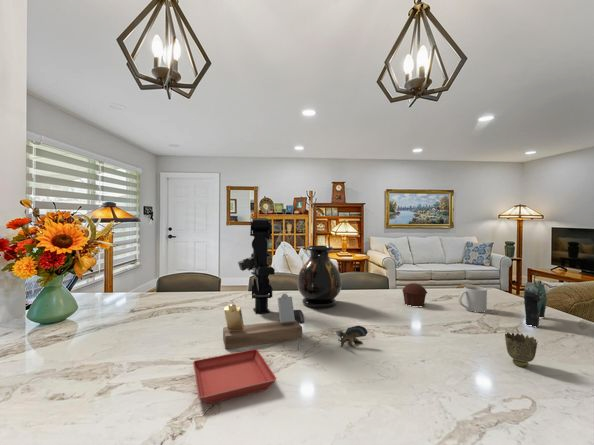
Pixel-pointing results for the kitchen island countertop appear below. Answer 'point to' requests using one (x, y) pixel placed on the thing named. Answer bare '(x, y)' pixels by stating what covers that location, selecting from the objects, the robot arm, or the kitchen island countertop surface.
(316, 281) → the amphora vase
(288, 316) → the slate lever
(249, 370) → the plant saucer
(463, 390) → the kitchen island countertop surface
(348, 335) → the eagle figurine
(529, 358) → the cup
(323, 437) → the kitchen island countertop surface
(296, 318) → the phone
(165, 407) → the kitchen island countertop surface
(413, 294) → the muffin
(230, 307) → the brass lever
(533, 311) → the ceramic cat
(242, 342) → the walnut panel
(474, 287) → the mug
